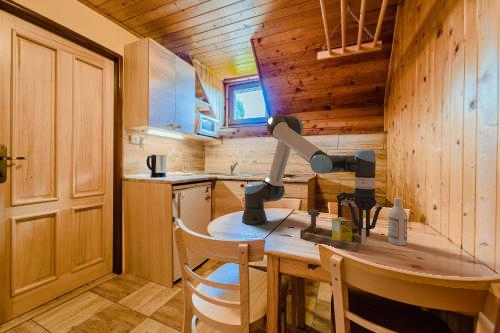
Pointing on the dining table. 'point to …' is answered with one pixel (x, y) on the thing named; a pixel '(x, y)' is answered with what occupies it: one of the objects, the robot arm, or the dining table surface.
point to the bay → (308, 230)
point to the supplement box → (342, 229)
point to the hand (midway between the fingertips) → (364, 243)
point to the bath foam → (397, 224)
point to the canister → (347, 208)
